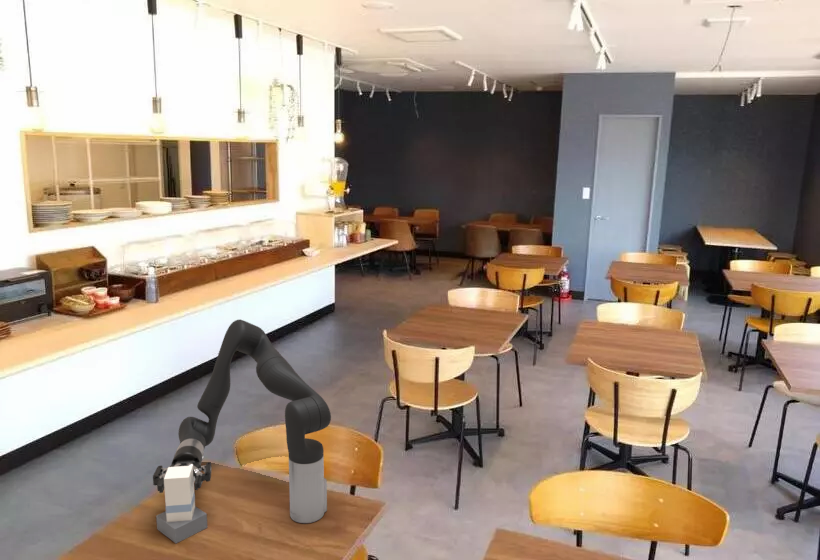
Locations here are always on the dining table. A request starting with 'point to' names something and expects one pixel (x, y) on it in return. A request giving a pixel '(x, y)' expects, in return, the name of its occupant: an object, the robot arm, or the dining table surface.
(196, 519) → the block
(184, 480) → the milk carton
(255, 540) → the dining table surface
